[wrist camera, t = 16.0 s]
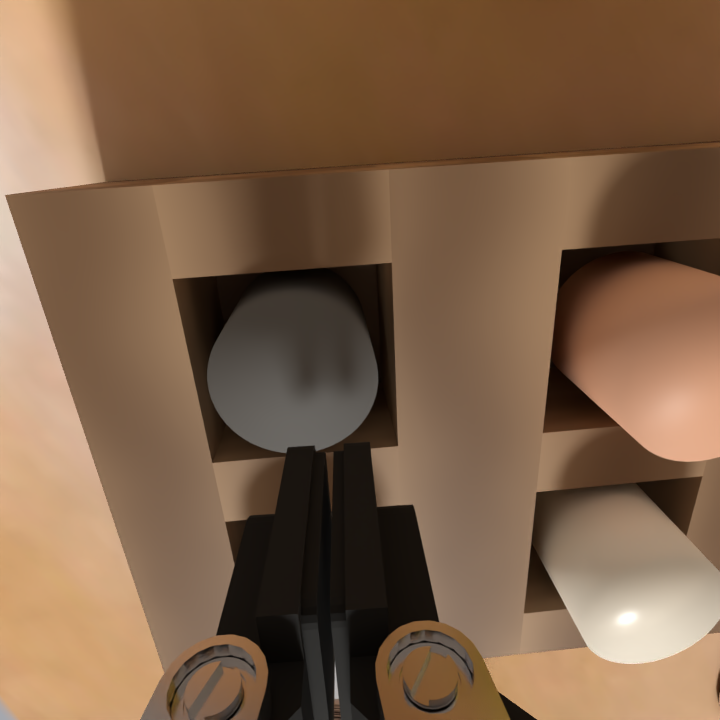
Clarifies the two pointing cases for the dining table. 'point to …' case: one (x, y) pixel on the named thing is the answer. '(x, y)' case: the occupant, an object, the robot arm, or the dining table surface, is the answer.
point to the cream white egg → (625, 572)
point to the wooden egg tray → (392, 353)
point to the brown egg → (645, 349)
